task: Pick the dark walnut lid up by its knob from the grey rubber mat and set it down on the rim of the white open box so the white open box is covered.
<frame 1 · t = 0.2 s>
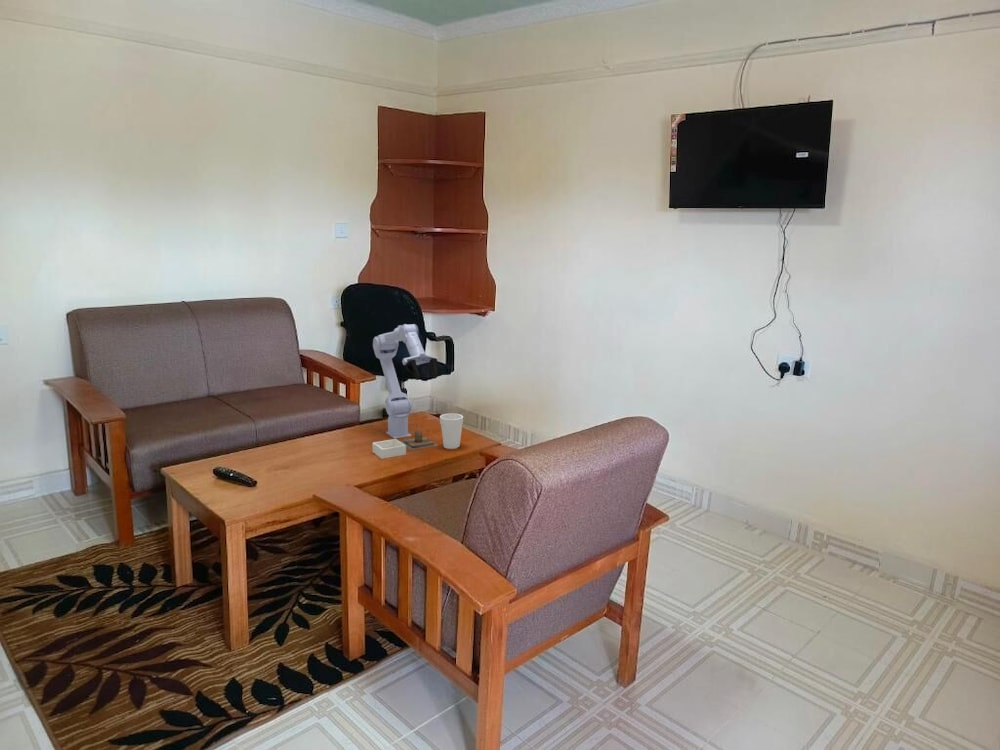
hand: (427, 377, 272), 31 cm above the table, tool tilted 45°, fingers open, 7 cm apart
lid: (418, 443, 290), resting on mat
white open box: (389, 453, 278), on the table
mat: (418, 444, 290), on the table
foam cup: (451, 447, 287), on the table
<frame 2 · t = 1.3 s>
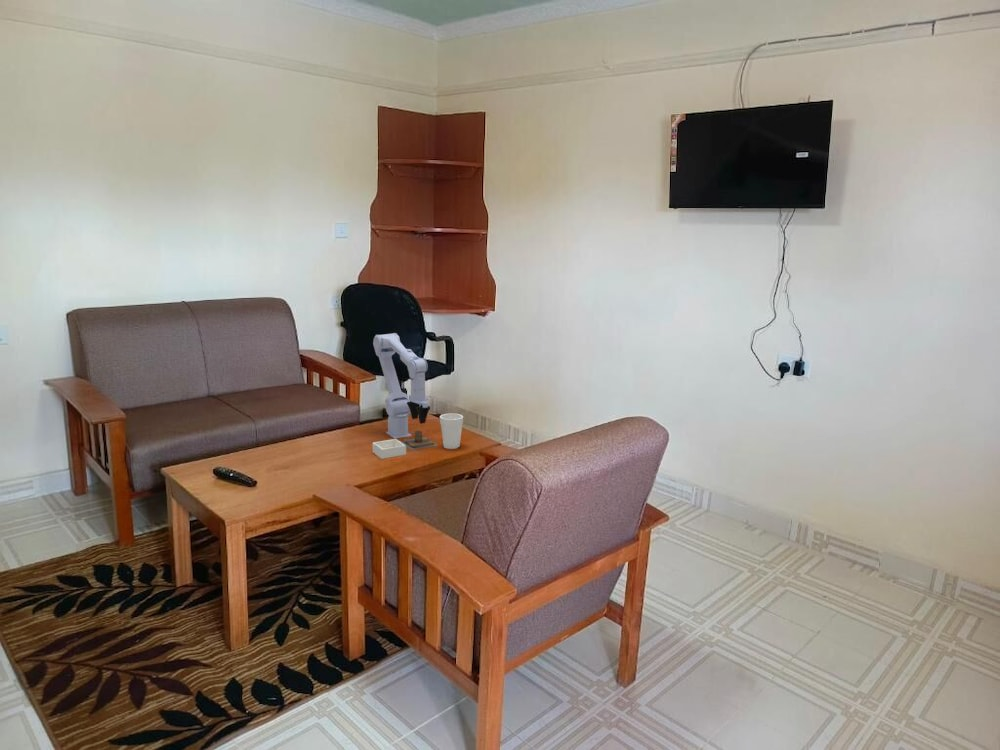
hand: (418, 420, 287), 10 cm above the table, tool pointing down, fingers open, 7 cm apart
nothing on the table moved.
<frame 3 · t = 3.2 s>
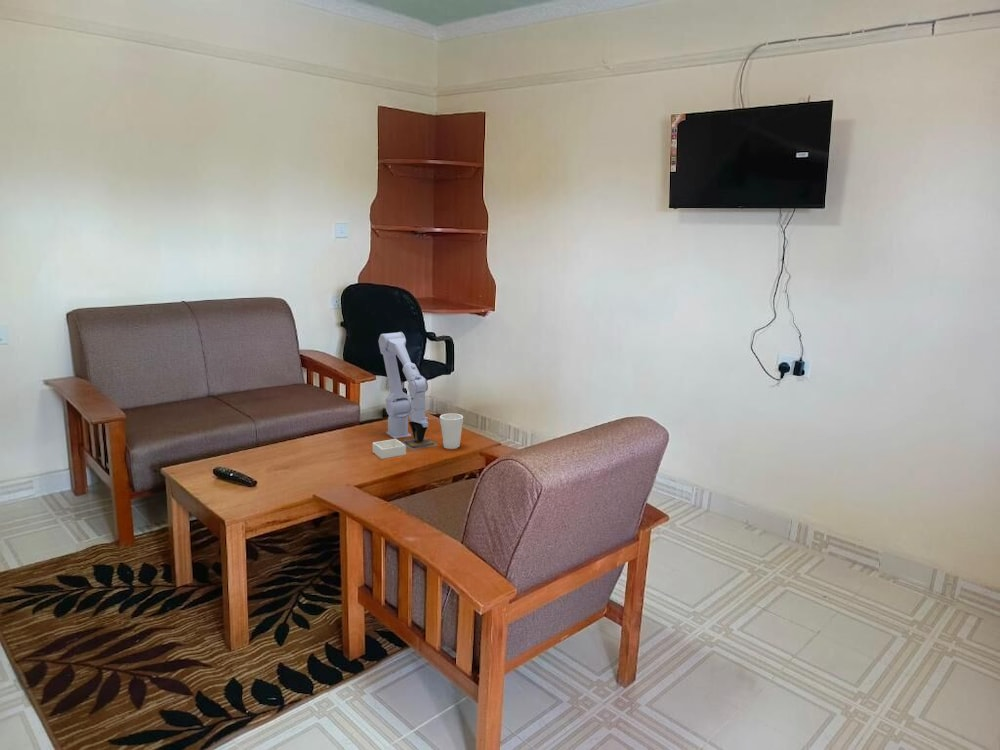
hand: (418, 439, 289), 2 cm above the table, tool pointing down, fingers closed on lid, 3 cm apart
lid: (418, 443, 290), resting on mat, touching gripper
everything else where it was.
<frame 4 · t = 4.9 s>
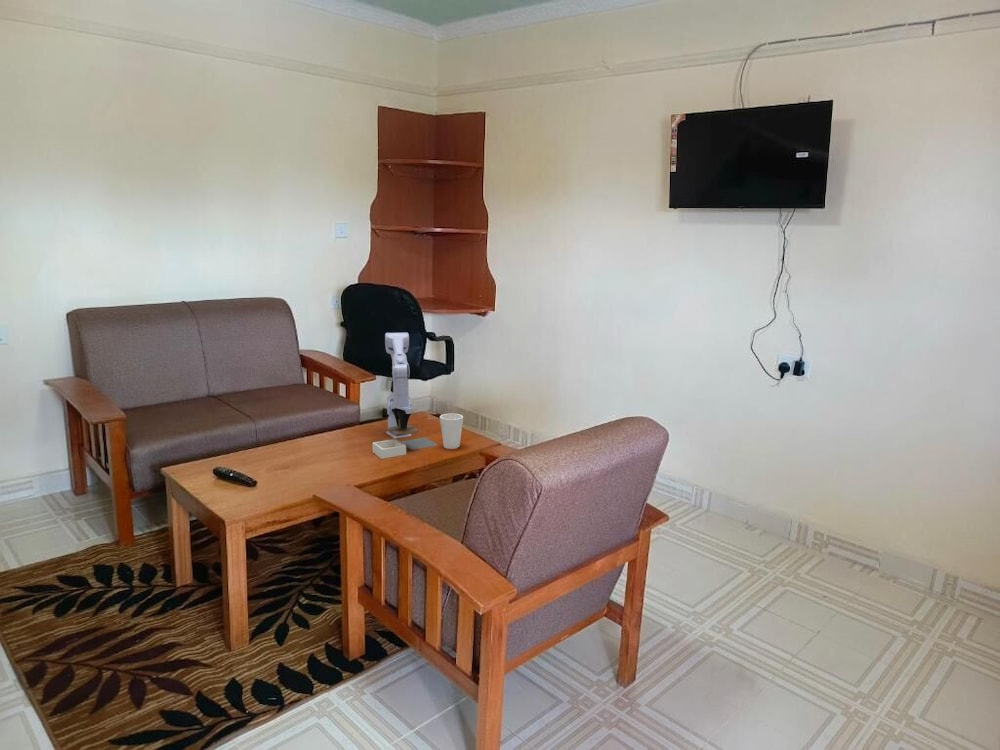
hand: (401, 427, 281), 9 cm above the table, tool pointing down, fingers closed on lid, 3 cm apart
lid: (402, 431, 281), point 8 cm above the table, touching gripper
everything else where it was.
when the fingers open (7 cm above the table, at t = 6.5 s): lid drops 1 cm, resting on white open box.
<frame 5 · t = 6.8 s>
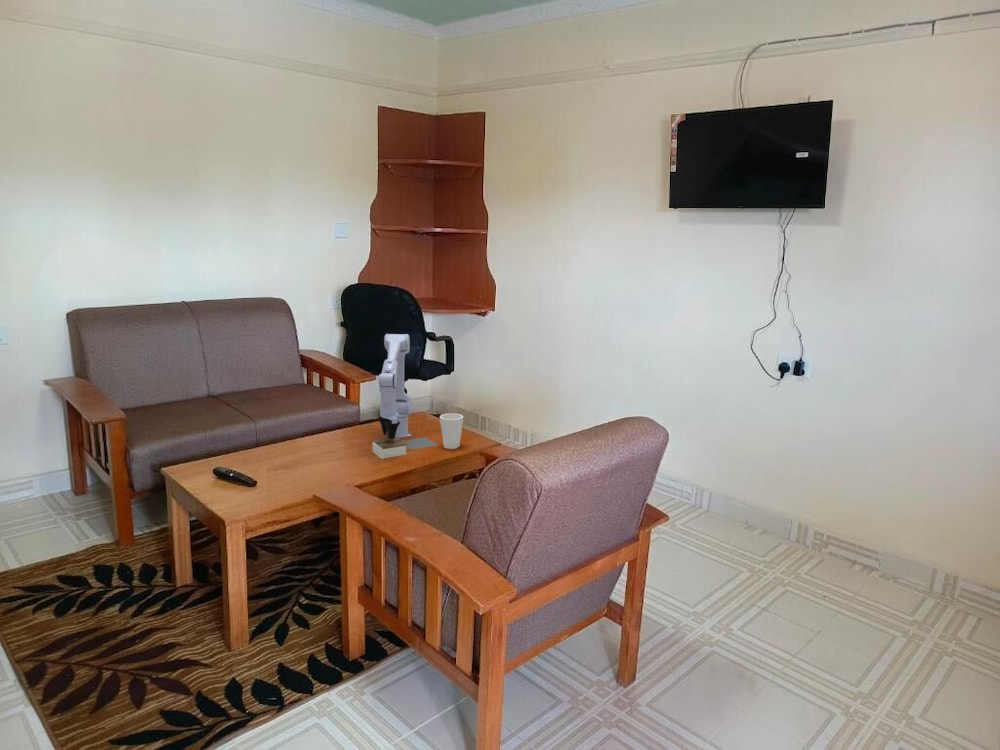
hand: (389, 436, 276), 7 cm above the table, tool pointing down, fingers open, 6 cm apart
lid: (390, 443, 277), point 4 cm above the table, touching white open box
everything else where it was.
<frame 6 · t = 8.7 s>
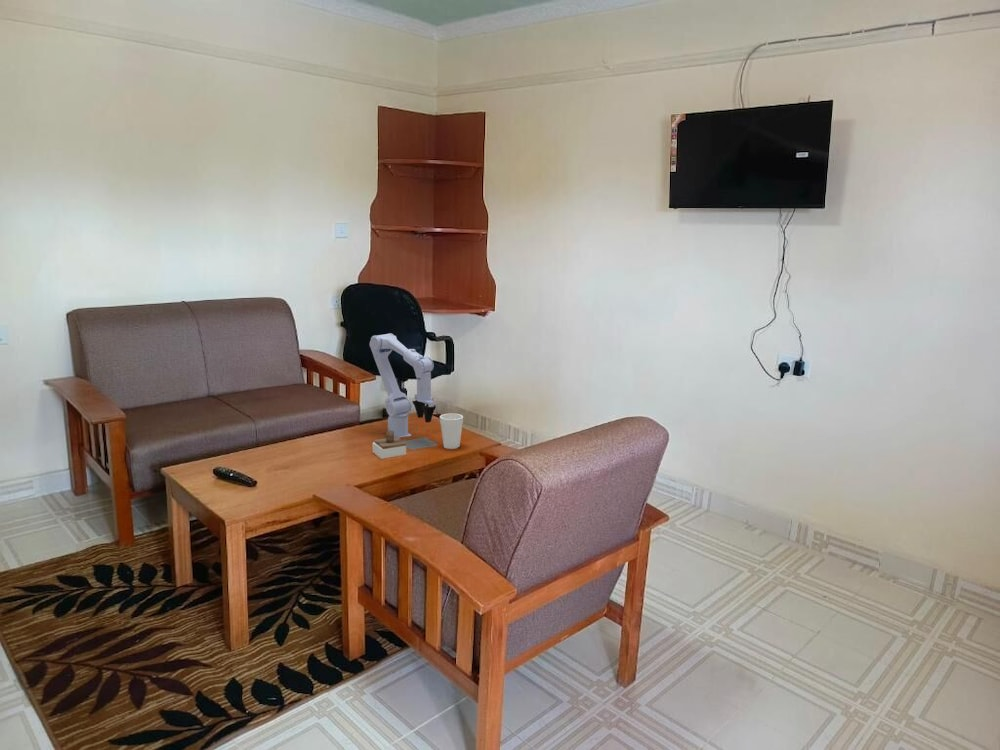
hand: (424, 419, 290), 10 cm above the table, tool pointing down, fingers open, 7 cm apart
nothing on the table moved.
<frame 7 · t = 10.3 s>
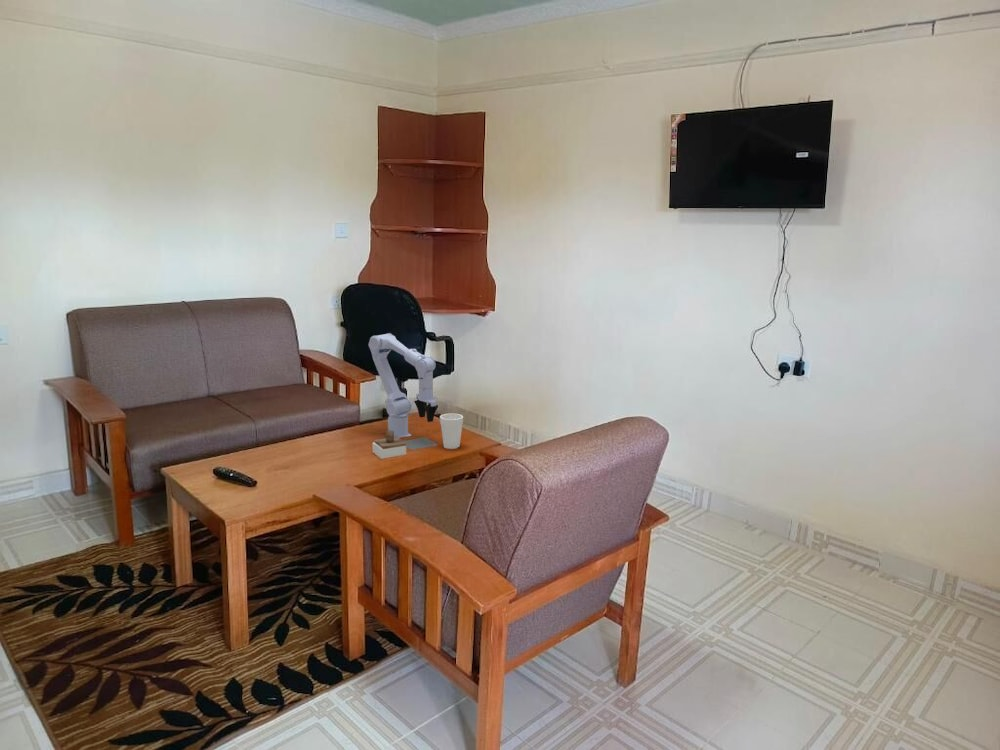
hand: (426, 419, 290), 10 cm above the table, tool pointing down, fingers open, 7 cm apart
nothing on the table moved.
at the end: lid 0.4 cm off-centre on the white open box, point 4.0 cm above the white open box's base; lid tilted 0°; the gripper is holding nothing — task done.
